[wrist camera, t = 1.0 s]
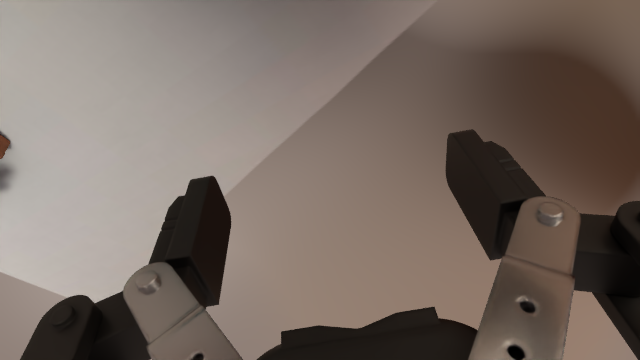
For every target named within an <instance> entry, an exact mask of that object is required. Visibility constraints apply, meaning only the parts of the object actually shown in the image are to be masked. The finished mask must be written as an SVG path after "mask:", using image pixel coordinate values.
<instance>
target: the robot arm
mask: <svg viewBox="0 0 640 360" xmlns="http://www.w3.org/2000/svg"><path fill="white" fill-rule="evenodd" d="M446 178H447V183H448V186H449V188H450V190H451V191H452V193H453V195H454V197H455V198H456V200H457V202H458V204H459V206H460V208H461V209H462V211H463V213H464V214H465V216H466V218H467V220H468V222H469V224H470V225H471V227H472V229H473V231H474V232H475V234H476V236H477V238H478V240H479V241H480V243H481V245H482V247H483V249H484V250H485V252H486V254H487V256H488V257H489V259H490V260H495V259H501V258H502V260H501V263H500V265H499V268H498V271H497V275H496V277H495V280H494V283H493V287H492V289H491V293H490V295H489V298H488V301H487V304H486V308H485V311H484V313H483V317H482V320H481V323H480V326H479V329H478V330H476V329H474V328H472V327H470V326H468V325H465V324H463V323H459V322H456V321H452V320H447V319H439V318H438V316H437V313H436V310H435V307H429V308H423V309H417V310H411V311H405V312H399V313H395V314H392V315H390V316H388V317H385V318H383V319H381V320H379V321H376V322H374V323H372V324H369V325H367V326H365V327H362V328H358V329H352V328H340V327H328V326H313V327H307V328H300V329H295V330H289V331H282V332H281V344H280V345H278V346H276V347H274V348H273V349H270V350H269V351H267V352H266V353H264V354H263V355H262V356H260V357H259V358H258V359H257V360H563V353H564V347H565V341H566V334H567V328H568V322H569V316H570V310H571V303H572V296H573V291H574V290H578V291H587V292H592V293H593V295H594V296H595V298H596V299H597V300H598V302H599V304H600V305H601V306H602V308H603V309H604V311H605V312H606V314H607V315H608V317H609V318H610V319H611V321H612V322H613V324H614V325H615V327H616V328H617V329H618V331H619V333H620V334H621V335H622V337H623V338H624V340H625V341H626V343H627V344H628V346H629V347H630V348H631V350H632V351H633V353H634V354H635V356H636V357H637V359H638V360H640V201H633V202H628V203H625V204H623V205H621V206H620V207H619V209H618V211H617V213H616V215H615V216H608V215H592V214H581V213H579V212H578V211H577V210H576V209H575V208H574V207H573V206H572V205H570V204H569V203H567V202H565V201H563V200H560V199H557V198H554V197H546V195H545V194H544V193H543V192H542V191H541V190H540V189H539V187H538V186H537V185H536V184H535V183H534V181H533V180H532V179H531V178H530V177H529V176H528V175H527V173H526V172H525V171H524V170H523V169H521V168H520V165H519V164H518V163H517V162H516V161H515V160H514V159H513V157H512V156H511V155H510V154H509V153H508V151H507V150H506V149H505V148H503V147H501V146H499V145H497V144H496V143H494V142H492V141H489V142H483V141H482V139H481V138H480V137H479V135H478V134H477V133H476V132H475V131H474V130H466V131H460V132H455V133H450V134H449V135H448V139H447V155H446ZM230 229H231V216H230V211H229V208H228V206H227V203H226V201H225V199H224V196H223V194H222V192H221V189H220V187H219V185H218V182H217V180H216V178H215V177H214V176H208V177H203V178H197V179H192V180H190V182H189V185H188V188H187V191H186V194H185V196H179V197H178V198H177V199H176V200H175V201H174V202H173V204H172V205H171V206H170V207H169V209H168V211H167V214H166V217H165V222H164V223H163V225H162V228H161V230H162V231H160V234H159V236H158V239H157V242H156V245H155V247H154V250H153V253H152V256H151V258H150V261H149V264H148V265H146V266H144V267H142V268H141V269H139V270H138V271H136V272H135V273H134V274H133V275H132V276H131V277H130V278H129V280H128V281H127V282H126V284H125V286H124V289H123V291H122V292H120V293H118V294H115V295H113V296H111V297H108V298H106V299H104V300H101V301H99V302H97V303H93V301H92V300H91V299H90V298H89V297H87V296H84V295H76V296H72V297H69V298H66V299H64V300H62V301H61V302H59V303H57V304H56V305H55V306H53V307H52V308H51V309H50V310H49V311H48V312H47V313H46V314H45V315H44V316H43V317H42V319H41V320H40V322H39V324H38V326H37V328H36V330H35V332H34V333H33V335H32V338H31V339H30V342H29V344H28V345H27V347H26V349H25V351H24V353H23V355H22V357H21V359H20V360H150V359H152V360H243V359H242V357H241V356H240V355H239V353H238V352H237V351H236V349H235V348H234V347H233V346H232V344H231V343H230V341H229V340H228V339H227V338H226V336H225V335H224V333H223V332H222V331H221V330H220V328H219V327H218V326H217V324H216V323H215V322H214V320H213V319H212V318H211V316H210V315H209V314H208V312H207V311H206V307H207V306H214V305H219V299H220V293H221V286H222V280H223V274H224V267H225V261H226V254H227V248H228V242H229V235H230Z"/></svg>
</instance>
